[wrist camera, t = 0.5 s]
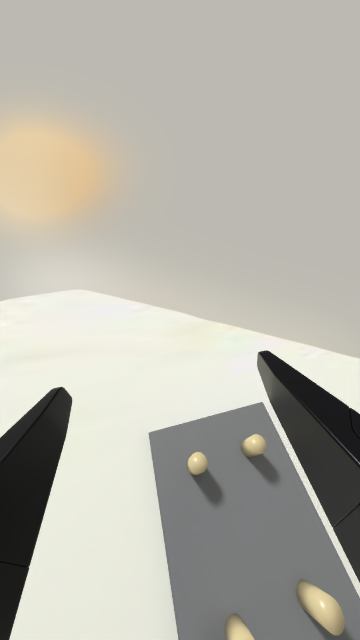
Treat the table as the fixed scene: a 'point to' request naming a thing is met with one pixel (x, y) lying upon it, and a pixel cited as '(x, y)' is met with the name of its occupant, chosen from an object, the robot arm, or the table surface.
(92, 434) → the table surface
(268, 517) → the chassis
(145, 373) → the table surface
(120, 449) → the table surface
